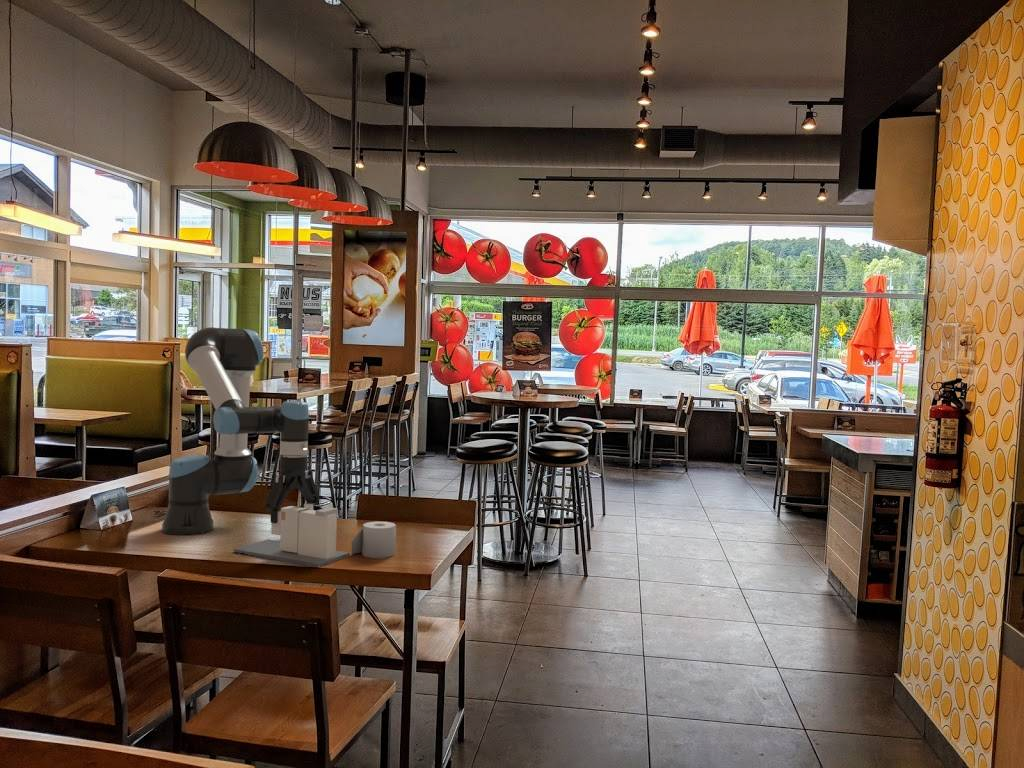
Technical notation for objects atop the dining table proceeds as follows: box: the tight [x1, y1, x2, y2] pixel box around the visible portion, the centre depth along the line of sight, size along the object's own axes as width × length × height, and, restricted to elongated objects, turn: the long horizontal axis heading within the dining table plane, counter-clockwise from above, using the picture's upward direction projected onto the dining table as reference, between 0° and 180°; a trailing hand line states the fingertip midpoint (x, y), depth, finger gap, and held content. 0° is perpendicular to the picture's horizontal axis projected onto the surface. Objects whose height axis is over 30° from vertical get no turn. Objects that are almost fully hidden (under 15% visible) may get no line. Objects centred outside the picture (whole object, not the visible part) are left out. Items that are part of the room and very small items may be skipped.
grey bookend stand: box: [233, 507, 351, 568], centre depth 219 cm, size 30×14×14 cm, turn 65°
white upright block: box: [279, 505, 307, 553], centre depth 219 cm, size 6×4×12 cm
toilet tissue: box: [351, 520, 397, 559], centre depth 222 cm, size 9×13×9 cm
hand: (292, 530), depth 219 cm, fingers open, 13 cm apart
